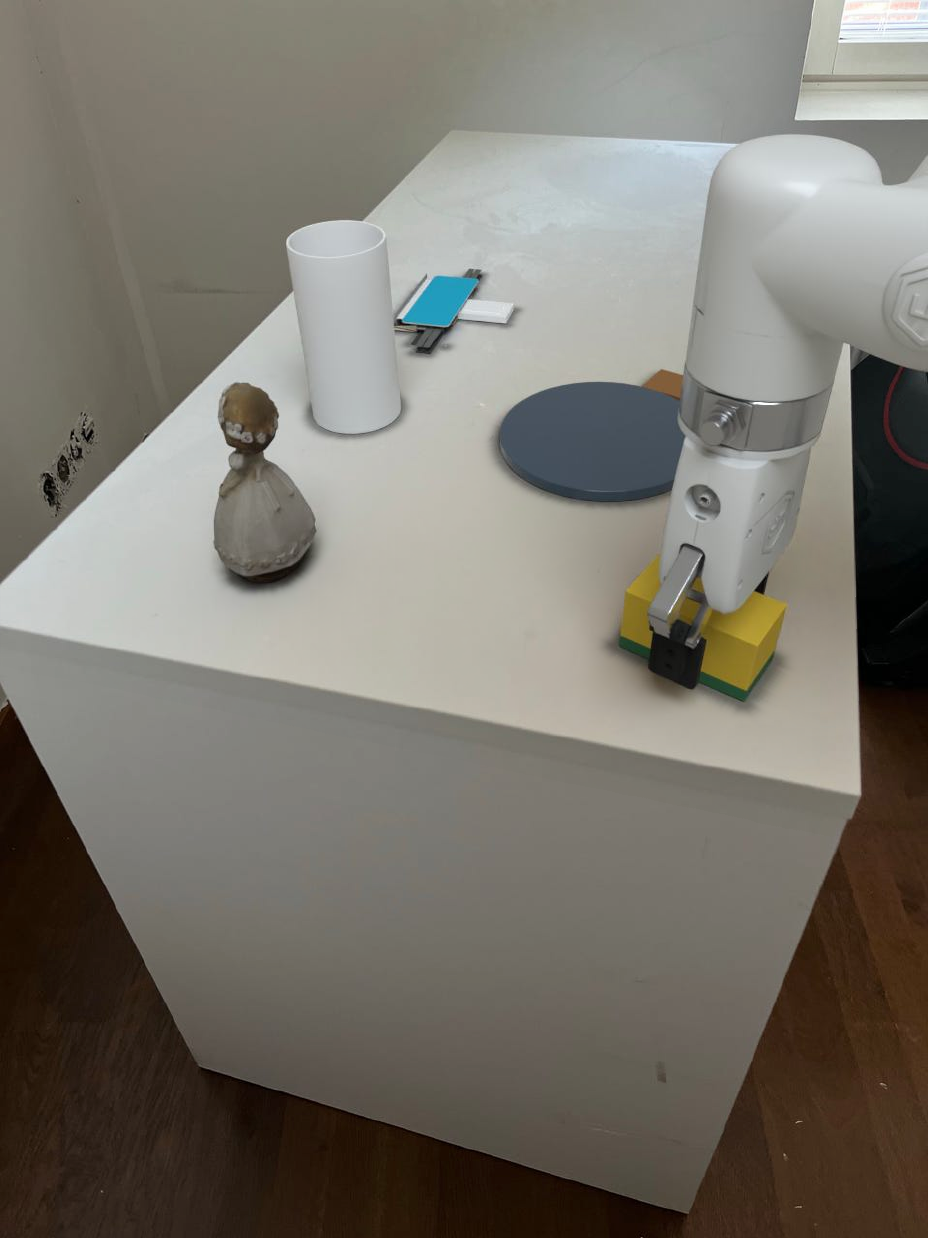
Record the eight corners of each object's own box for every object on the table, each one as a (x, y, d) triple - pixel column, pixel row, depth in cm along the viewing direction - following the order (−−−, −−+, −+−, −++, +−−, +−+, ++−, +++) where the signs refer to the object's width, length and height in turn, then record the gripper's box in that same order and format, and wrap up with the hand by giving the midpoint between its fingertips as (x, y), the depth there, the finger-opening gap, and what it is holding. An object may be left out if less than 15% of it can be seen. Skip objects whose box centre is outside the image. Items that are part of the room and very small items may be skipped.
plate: (707, 398, 87) (709, 388, 87) (705, 511, 74) (707, 500, 74) (517, 384, 90) (517, 375, 90) (482, 491, 77) (482, 481, 77)
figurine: (250, 528, 75) (210, 354, 64) (331, 538, 73) (303, 361, 63) (209, 593, 69) (157, 413, 59) (296, 605, 68) (259, 423, 58)
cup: (397, 433, 84) (381, 256, 74) (307, 434, 85) (277, 259, 74) (404, 388, 91) (389, 218, 80) (319, 389, 91) (294, 220, 80)
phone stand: (485, 359, 94) (485, 344, 93) (374, 347, 97) (373, 332, 96) (531, 279, 108) (531, 265, 107) (433, 271, 111) (432, 257, 110)
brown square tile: (679, 405, 87) (680, 397, 86) (640, 393, 88) (641, 385, 88) (698, 386, 89) (699, 379, 88) (660, 376, 91) (661, 368, 90)
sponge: (743, 702, 59) (757, 646, 56) (618, 646, 64) (625, 590, 60) (772, 660, 62) (787, 603, 59) (650, 608, 66) (658, 553, 63)
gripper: (751, 501, 43) (700, 743, 54) (879, 352, 53) (813, 583, 64) (608, 452, 46) (589, 689, 58) (753, 320, 56) (712, 545, 68)
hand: (707, 633), depth 61 cm, fingers open, 9 cm apart
